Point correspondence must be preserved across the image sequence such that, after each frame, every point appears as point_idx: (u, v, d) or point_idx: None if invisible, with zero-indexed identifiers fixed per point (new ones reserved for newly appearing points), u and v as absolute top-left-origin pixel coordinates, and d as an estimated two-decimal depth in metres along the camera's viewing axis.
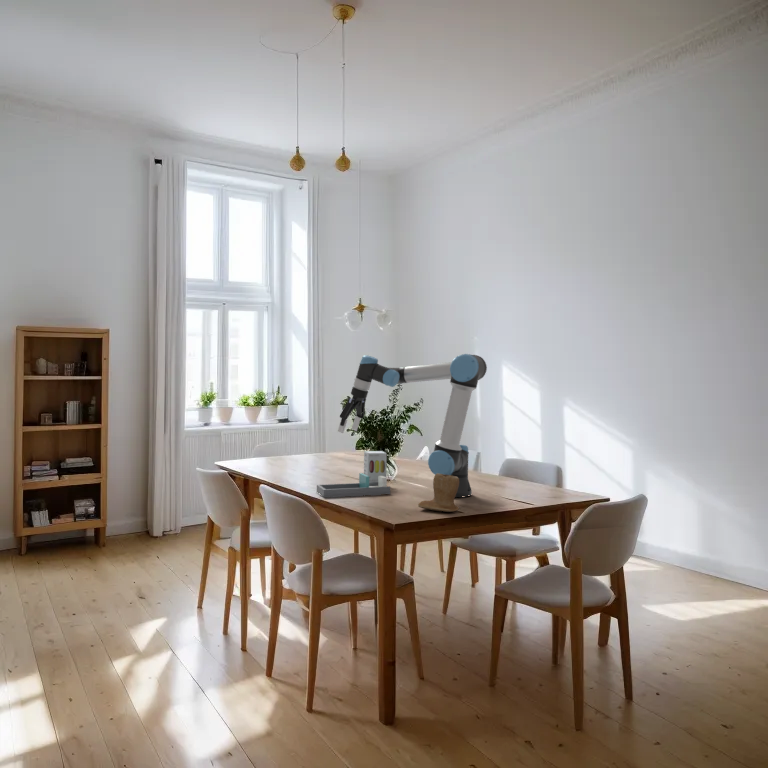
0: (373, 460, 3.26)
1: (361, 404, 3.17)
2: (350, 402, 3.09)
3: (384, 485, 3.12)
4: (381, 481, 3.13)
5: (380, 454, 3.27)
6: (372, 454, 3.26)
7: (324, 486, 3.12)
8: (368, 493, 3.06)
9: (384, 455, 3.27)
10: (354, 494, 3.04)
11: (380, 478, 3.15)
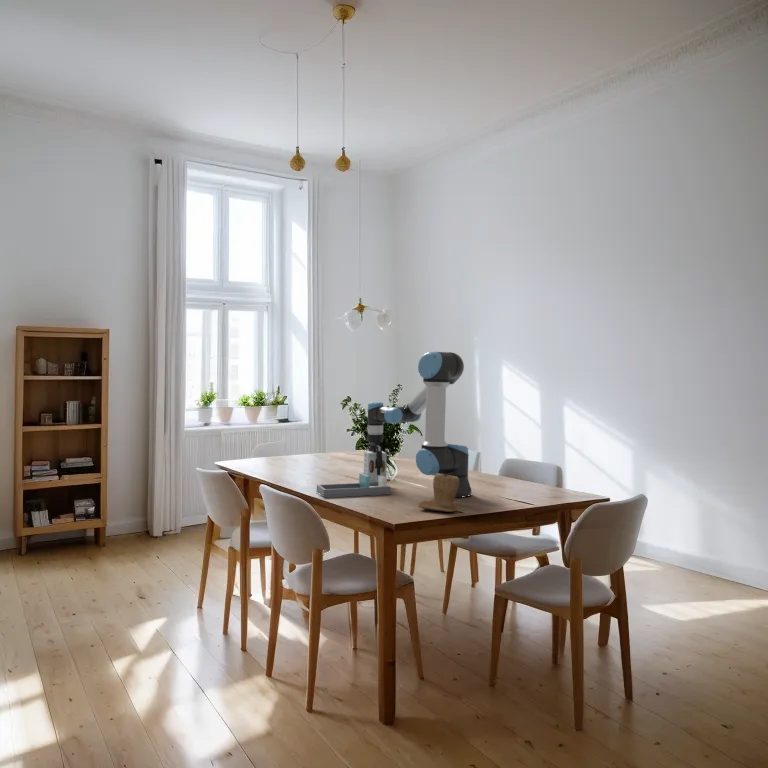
0: (373, 460, 3.26)
1: None
2: (380, 450, 3.24)
3: (384, 485, 3.12)
4: (381, 481, 3.13)
5: None
6: (372, 454, 3.26)
7: (324, 486, 3.12)
8: (368, 493, 3.06)
9: (384, 455, 3.27)
10: (354, 494, 3.04)
11: (380, 478, 3.15)
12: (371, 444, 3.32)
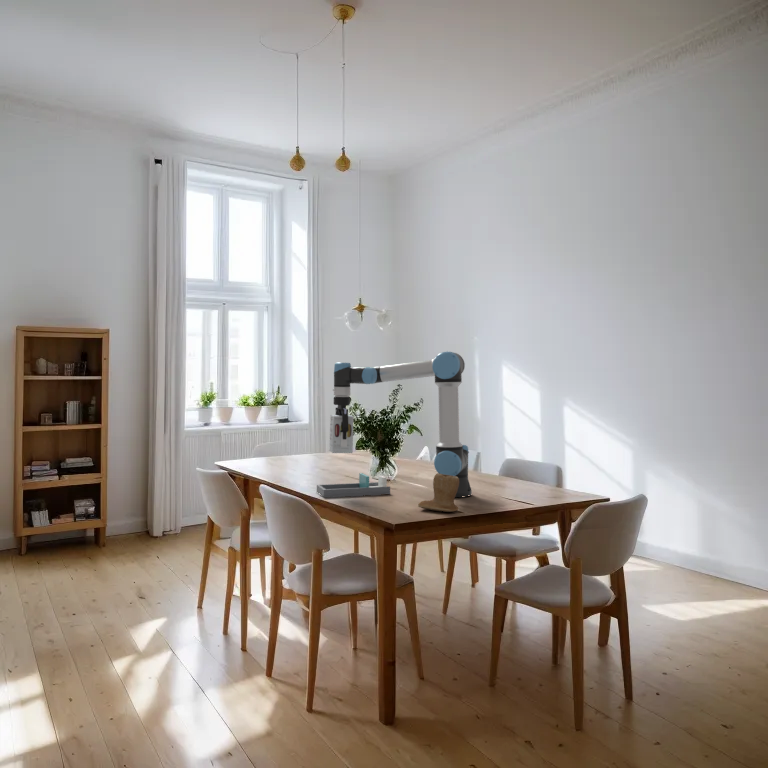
0: (339, 424, 3.06)
1: None
2: (346, 413, 3.04)
3: (384, 485, 3.12)
4: (381, 481, 3.13)
5: None
6: (338, 417, 3.06)
7: (324, 486, 3.12)
8: (368, 493, 3.06)
9: (351, 418, 3.07)
10: (354, 494, 3.04)
11: (380, 478, 3.15)
12: (338, 407, 3.12)
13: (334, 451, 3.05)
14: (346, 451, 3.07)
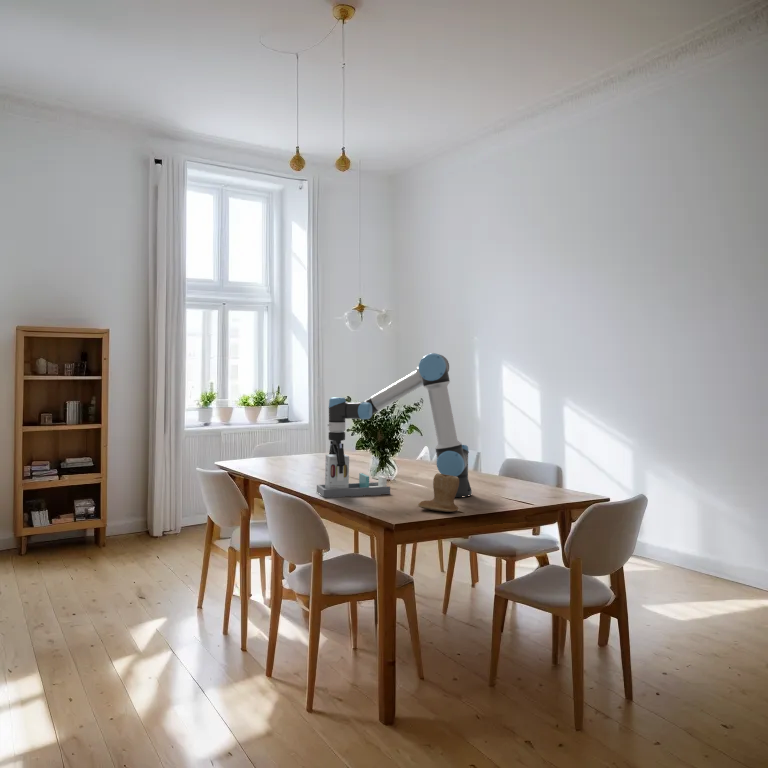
0: (335, 464, 3.03)
1: None
2: (341, 447, 3.01)
3: (384, 485, 3.12)
4: (381, 481, 3.13)
5: None
6: (334, 458, 3.03)
7: (324, 486, 3.12)
8: (368, 493, 3.06)
9: (346, 459, 3.04)
10: (354, 494, 3.04)
11: (380, 478, 3.15)
12: (333, 443, 3.10)
13: None
14: None
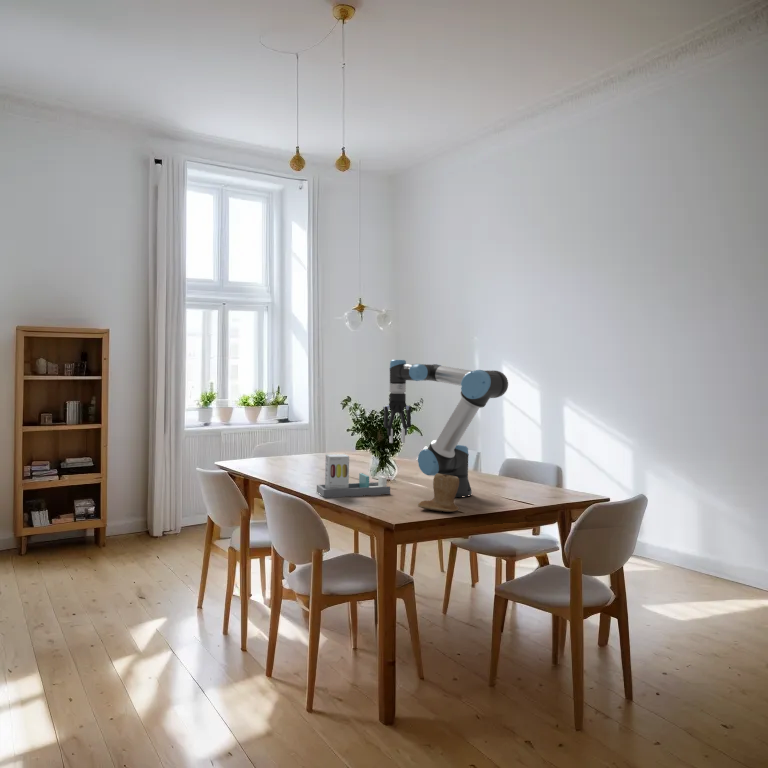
0: (335, 464, 3.03)
1: None
2: None
3: (384, 485, 3.12)
4: (381, 481, 3.13)
5: (342, 457, 3.04)
6: (334, 458, 3.03)
7: (324, 486, 3.12)
8: (368, 493, 3.06)
9: (346, 459, 3.04)
10: (354, 494, 3.04)
11: (380, 478, 3.15)
12: (393, 404, 3.15)
13: None
14: None
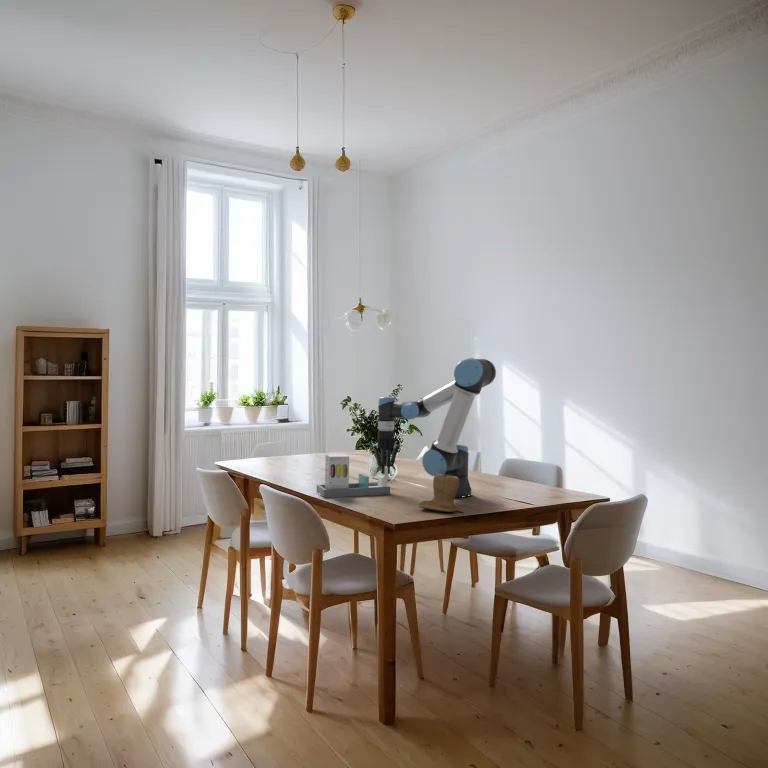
0: (335, 464, 3.03)
1: None
2: None
3: (384, 485, 3.12)
4: (381, 481, 3.13)
5: (342, 457, 3.04)
6: (334, 458, 3.03)
7: (324, 486, 3.12)
8: (368, 493, 3.06)
9: (346, 459, 3.04)
10: (354, 494, 3.04)
11: (380, 478, 3.15)
12: (381, 441, 3.14)
13: None
14: None
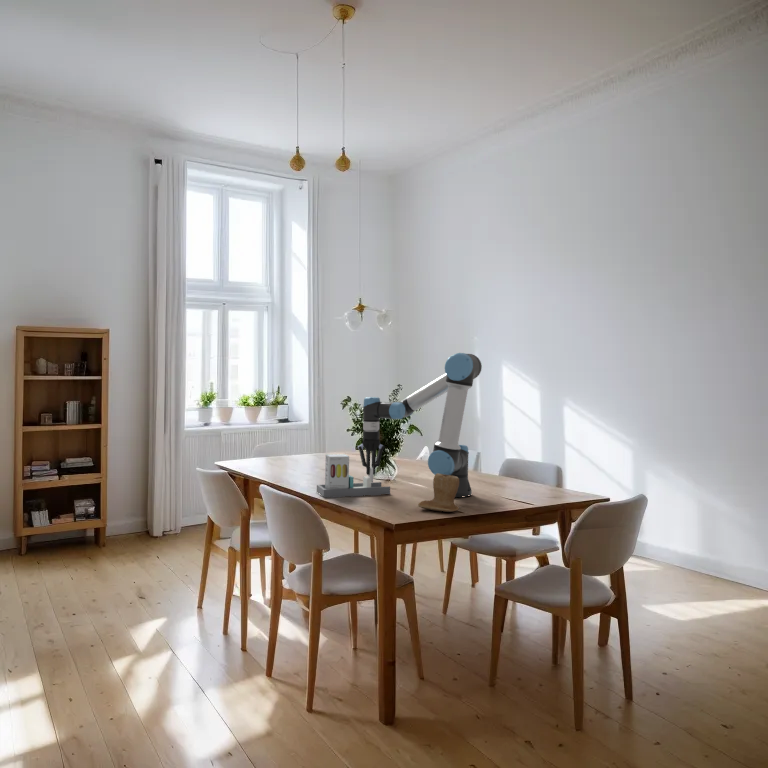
0: (335, 464, 3.03)
1: None
2: None
3: (369, 486, 3.10)
4: (366, 482, 3.10)
5: (342, 457, 3.04)
6: (334, 458, 3.03)
7: (324, 486, 3.12)
8: (368, 493, 3.06)
9: (346, 459, 3.04)
10: (354, 494, 3.04)
11: (365, 479, 3.12)
12: (366, 442, 3.11)
13: None
14: None
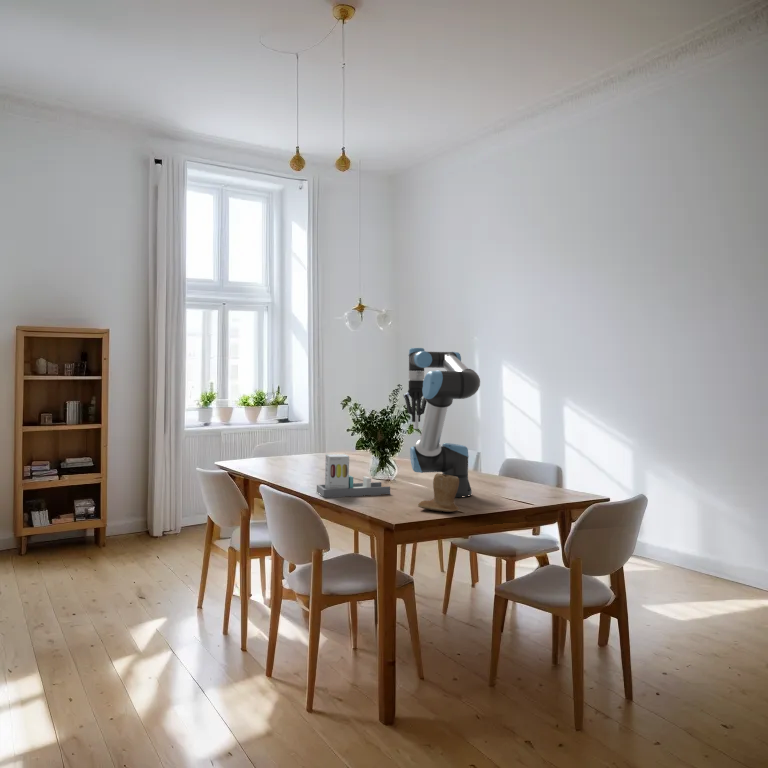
0: (335, 464, 3.03)
1: None
2: None
3: (368, 486, 3.10)
4: (366, 482, 3.10)
5: (342, 457, 3.04)
6: (334, 458, 3.03)
7: (324, 486, 3.12)
8: (368, 493, 3.06)
9: (346, 459, 3.04)
10: (354, 494, 3.04)
11: (365, 479, 3.12)
12: (412, 390, 3.26)
13: None
14: None
